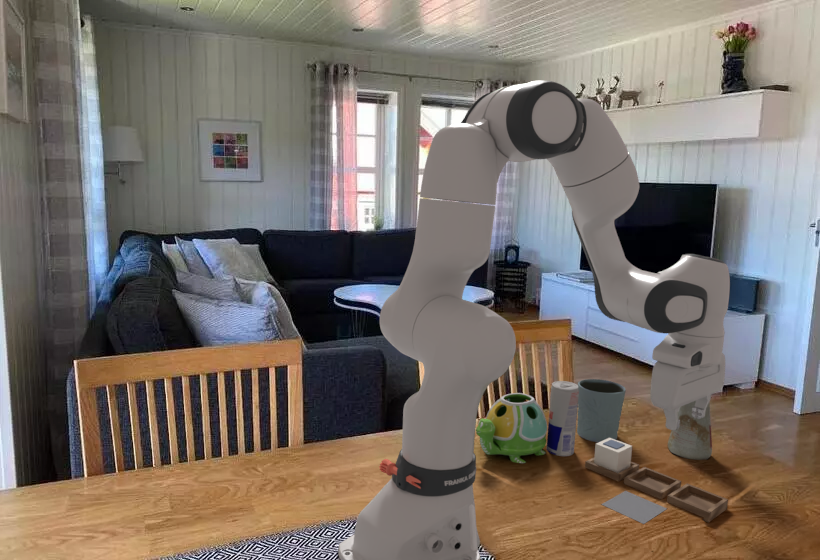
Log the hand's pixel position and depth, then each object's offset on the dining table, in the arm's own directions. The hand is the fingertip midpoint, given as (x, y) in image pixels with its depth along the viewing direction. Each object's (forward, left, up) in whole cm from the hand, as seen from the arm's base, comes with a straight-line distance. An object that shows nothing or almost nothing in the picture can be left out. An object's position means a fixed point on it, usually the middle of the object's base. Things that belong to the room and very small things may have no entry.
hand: (685, 422), depth 113 cm
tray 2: (0, +5, -15) cm, 16 cm away
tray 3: (0, -3, -15) cm, 15 cm away
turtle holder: (-10, +31, -15) cm, 36 cm away
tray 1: (0, +14, -15) cm, 20 cm away
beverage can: (-1, +25, -15) cm, 29 cm away
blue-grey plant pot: (+13, +25, -15) cm, 32 cm away
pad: (-10, +3, -15) cm, 18 cm away
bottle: (+21, +8, -15) cm, 27 cm away
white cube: (0, +14, -14) cm, 20 cm away
